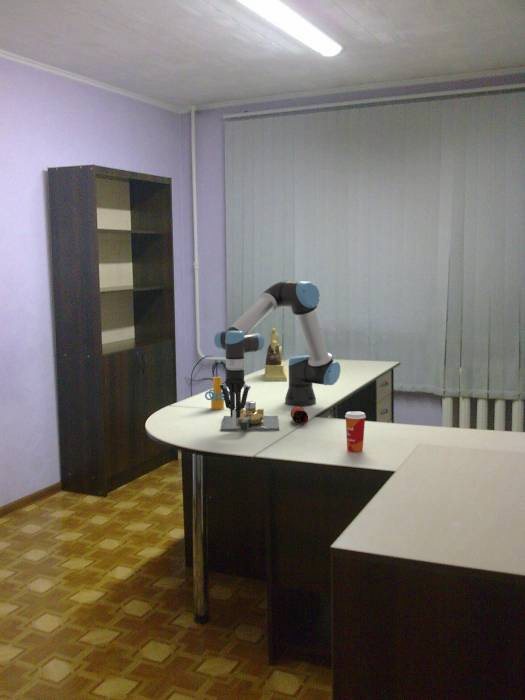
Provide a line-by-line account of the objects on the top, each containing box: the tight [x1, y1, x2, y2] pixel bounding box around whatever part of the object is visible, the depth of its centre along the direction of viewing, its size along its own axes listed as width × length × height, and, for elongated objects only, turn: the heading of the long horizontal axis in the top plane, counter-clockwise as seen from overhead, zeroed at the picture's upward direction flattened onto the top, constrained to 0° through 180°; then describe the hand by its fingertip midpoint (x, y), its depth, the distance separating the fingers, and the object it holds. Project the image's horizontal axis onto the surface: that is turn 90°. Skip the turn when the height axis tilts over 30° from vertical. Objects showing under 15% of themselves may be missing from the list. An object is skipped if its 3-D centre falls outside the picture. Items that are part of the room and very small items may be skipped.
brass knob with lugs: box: [238, 408, 265, 432], centre depth 299 cm, size 24×11×5 cm, turn 172°
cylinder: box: [204, 376, 230, 411], centre depth 338 cm, size 12×10×15 cm
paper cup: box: [344, 410, 367, 453], centre depth 262 cm, size 8×8×14 cm
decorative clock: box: [264, 327, 288, 382], centre depth 426 cm, size 28×13×30 cm, turn 178°
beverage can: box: [290, 405, 309, 426], centre depth 309 cm, size 7×12×7 cm, turn 4°
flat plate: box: [220, 400, 280, 432], centre depth 305 cm, size 24×25×10 cm
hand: (235, 425), depth 294 cm, fingers closed
